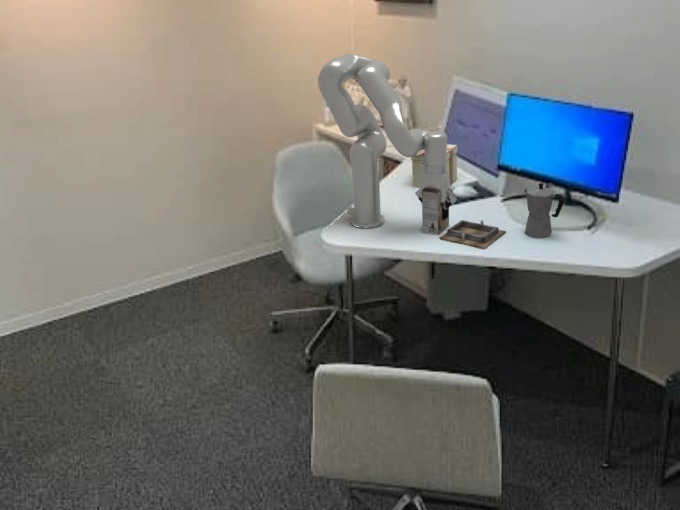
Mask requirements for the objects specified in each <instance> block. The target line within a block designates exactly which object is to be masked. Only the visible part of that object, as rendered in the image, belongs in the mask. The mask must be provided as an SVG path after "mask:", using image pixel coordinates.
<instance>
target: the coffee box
mask: <svg viewBox="0 0 680 510" xmlns="http://www.w3.org/2000/svg"><path fill="white" fill-rule="evenodd" d="M448 201H449V202H450V199H448ZM421 209H422V210H421V216H422V218H421V220H422V224H421V225H422V226H421V227H422V228H421V229H422V230H421V231H422V233H423V234H430V235H435V236H439V235H440V234H441V233H442V232H444V231H445V230H446V229H448V227H449V226H450V215H449V216H448V218H446V219H445V220H442V209H443V206H442V203H441V202H440V191H439V190H435V189H429V188H424V189H422V204H421Z"/></svg>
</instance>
